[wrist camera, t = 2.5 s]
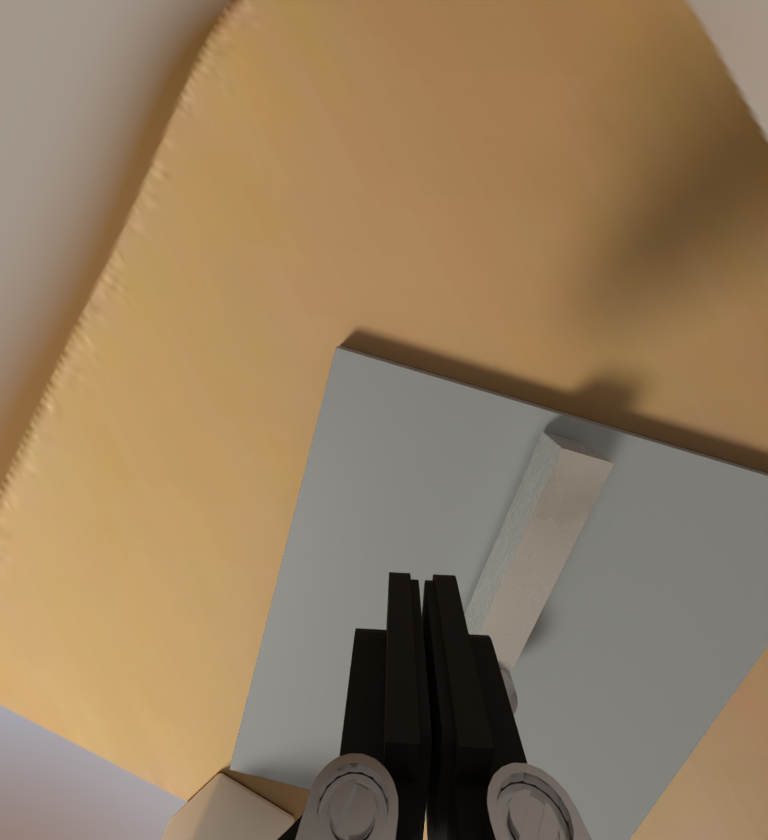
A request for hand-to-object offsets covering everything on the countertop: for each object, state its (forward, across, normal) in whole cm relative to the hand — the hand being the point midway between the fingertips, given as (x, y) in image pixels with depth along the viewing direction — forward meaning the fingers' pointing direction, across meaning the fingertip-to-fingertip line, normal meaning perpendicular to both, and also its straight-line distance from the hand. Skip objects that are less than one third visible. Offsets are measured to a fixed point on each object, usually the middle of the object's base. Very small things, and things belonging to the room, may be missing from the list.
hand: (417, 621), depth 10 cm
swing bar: (+10, -6, +6) cm, 13 cm away
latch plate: (+12, -6, +12) cm, 18 cm away
